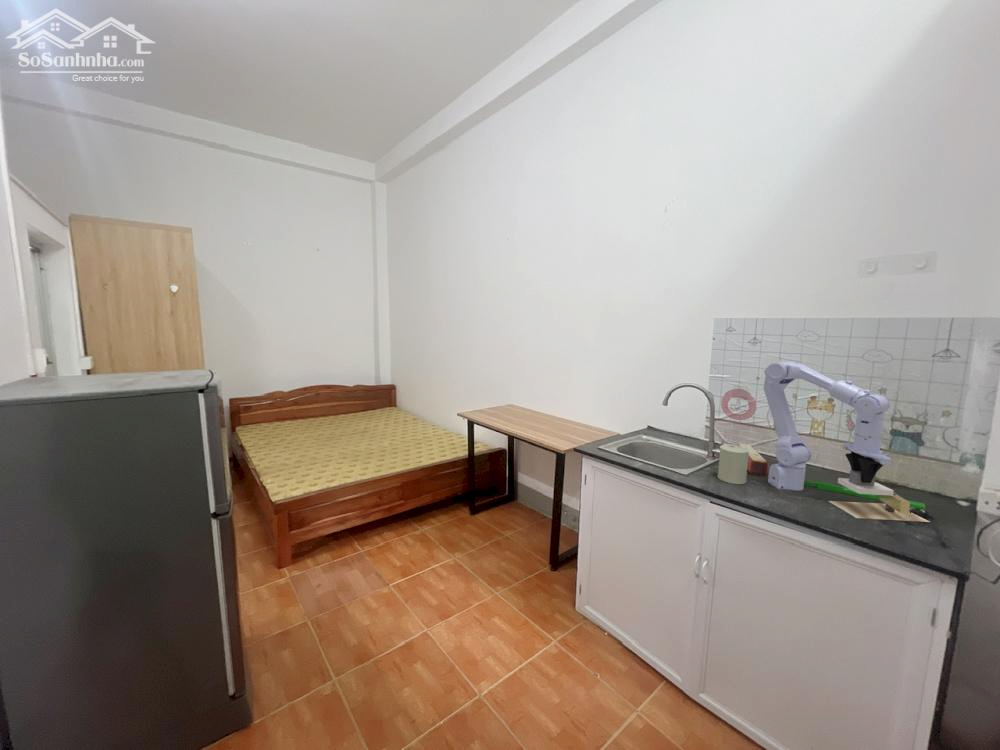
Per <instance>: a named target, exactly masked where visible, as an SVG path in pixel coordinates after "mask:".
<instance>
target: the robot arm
mask: <svg viewBox="0 0 1000 750" xmlns="http://www.w3.org/2000/svg"><path fill="white" fill-rule="evenodd" d="M763 373H764V376H765V378H764V383H763V391H764V393H765V397H766V400H767V404H768V407H769V410H770V411H769V412H770V414H771V417H772V418H771V419H772V420H773V423H774V427H775V430H776V434H777V436H778V438H777V441H776V442H775V450H776V451H775V458H776V460H777V462H778V463H774V464H773V463H772V464H771V465H770V467H768V479H767V483H768V484H770V485H771V486H773V487H774V488H776V489H778V490H789V491H790V490H791V491H803V490H804V487H805V485H804V480H805V478H806V469H807V462H809V461H810V460H811V458H812V452H811V450H810V448H809V447H808V446H807V445H806V442H805V440H804V439H803V438H802V437H801V436H800V435H799V434H798V432H797V428H796V425H795V422H794V419H793V416H792V413H791V409H790V406H789V403H788V400H787V398H786V394H785V391H784V390H785V389H786V388H787V387H788V385H789V384H790V383H792V382H793V381H795V380H797V379H798V380H803V381H806V382H808V383H810V384H813V385H815V386H817V387H820V388H822V389H824V390H827V391H828V393H829V396H830V397H831V398H833V399H836V400H838V401H840V402H842V403H844V404H845V405H848V406H850V407H851V408H854V410H855V412H856V418H855V428H854V435H853V443H851V442H843V443H842V447H841V448H842V450H846V451H849V452H850V453H845V457H846V459H847V460H848V463H849V465H850V470H852V471H861V481H862V482H863V483H871V482H872V480H873V478H874V476H875V474H876V475H877V473H878V471H879V470H880V469H881V468H882V467H884V466H891V464H892V458H890V457H888V456H887V455H885V454H883V453H884V451H882V450H881V442H882V435H883V428H884V419H885V418H884V417H885V412H887V411H888V410H889V408H890V405H891V404H890V401H889V399H888V398H887V397H886V396H884V395H882V394H881V393H871V392H872V391H871V390H869V389H863V388H861V387H859V386H856V385H854V381H851V380H837V381H836V380H833V378H830V377H828V376H826V375H824V374H822V373H820V372H818V371H816V370H814V369H812V368H811V367H808V366H807V365H805V364H803V363H799V362H797V361H795V360H789V361H773V362H771V363H769V365H767V367H766V368H765V369H764V370H763ZM875 477H876V476H875Z"/></svg>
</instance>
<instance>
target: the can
mask: <svg viewBox="0 0 1000 750" xmlns="http://www.w3.org/2000/svg"><path fill="white" fill-rule="evenodd" d="M748 456H749V450H748V449H746V448H744V447H740V446H737V445H733V444H722V445H720V446H719V459H718V471H717V478H718V479H719V480H720V481H722V482H726V483H729V484H734V485H736V484H737V485H744V484H746V483H747V482H748V480H747V476H748V475H747V474H748V470H747V466H748Z"/></svg>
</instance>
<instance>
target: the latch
mask: <svg viewBox="0 0 1000 750" xmlns="http://www.w3.org/2000/svg"><path fill="white" fill-rule="evenodd" d="M876 497H877V498H878V499H880V500H881V502H883V504H887V505H889V506H890V507H892V508H893V509H895V510H896V511H898V512H899V513H905V514H909V512H910V502H908V501H907V500H908V499H905V498H904V497H902V496H901V495H898V493H896V492H894V493H893V496H892V495H876Z"/></svg>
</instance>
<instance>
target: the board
mask: <svg viewBox="0 0 1000 750" xmlns="http://www.w3.org/2000/svg"><path fill="white" fill-rule="evenodd" d="M828 502H829V503H830V504H832V505H834V506H836V507H837V508H839V509H841V511H842V510H843V511H844V512H846V513H847V514H848V515H850V516H853V517H854V518H855V519H865V520H866V519H867V520H886V521H887V520H889V521H905V522H922V523H931V521H930V520H927V519H926V518H923V517H922V516H919V515H917V514H915V513H913V512H911V511H909V514H905V513H899V512H898V511H896V510H895V509H893V508H892V507H890V506H889V505H887V504H886V503H878V502H876V503H875V502H859V501H858V502H857V501H839V500H838V501H837V500H828ZM910 512H911V513H910Z"/></svg>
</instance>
